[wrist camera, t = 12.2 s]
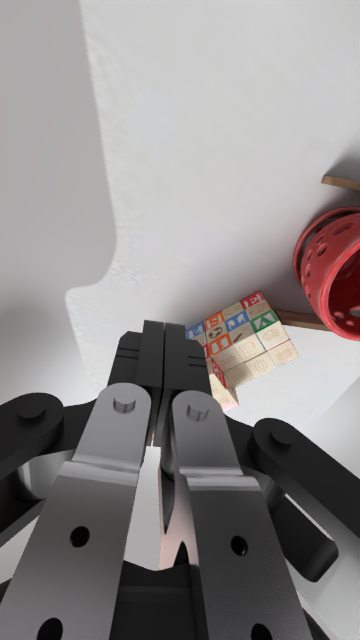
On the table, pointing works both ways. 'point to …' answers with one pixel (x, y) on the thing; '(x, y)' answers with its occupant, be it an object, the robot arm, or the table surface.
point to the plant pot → (332, 269)
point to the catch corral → (307, 319)
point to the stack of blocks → (241, 346)
